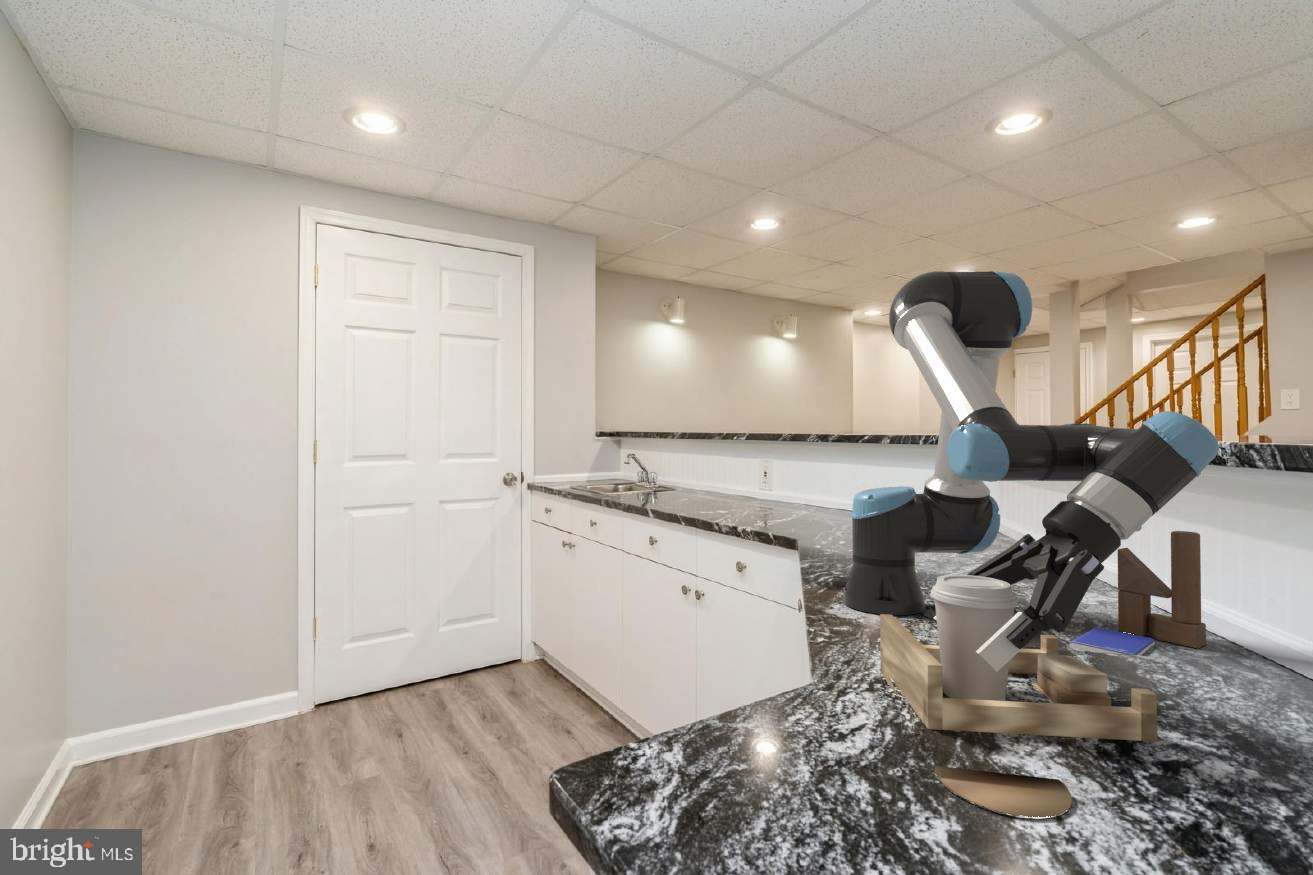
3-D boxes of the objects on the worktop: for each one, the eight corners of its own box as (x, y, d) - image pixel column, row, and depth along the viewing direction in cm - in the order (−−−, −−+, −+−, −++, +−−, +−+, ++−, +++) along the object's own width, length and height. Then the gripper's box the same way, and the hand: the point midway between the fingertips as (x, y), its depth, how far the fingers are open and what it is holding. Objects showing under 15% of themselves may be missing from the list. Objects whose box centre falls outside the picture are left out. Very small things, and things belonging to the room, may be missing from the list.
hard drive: (1133, 654, 90) (1154, 638, 97) (1069, 640, 96) (1094, 626, 104) (1133, 664, 89) (1154, 648, 97) (1069, 650, 96) (1094, 635, 104)
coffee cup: (928, 712, 72) (927, 584, 72) (933, 684, 80) (932, 570, 80) (1022, 730, 67) (1021, 594, 67) (1017, 698, 76) (1016, 578, 76)
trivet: (909, 770, 59) (909, 766, 59) (980, 744, 64) (980, 740, 64) (1024, 834, 49) (1024, 829, 49) (1097, 797, 54) (1097, 793, 54)
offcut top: (1071, 691, 70) (1071, 673, 70) (1037, 670, 76) (1037, 654, 76) (1107, 692, 69) (1107, 675, 69) (1070, 671, 76) (1070, 655, 76)
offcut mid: (1060, 710, 69) (1060, 692, 69) (1037, 684, 77) (1037, 668, 77) (1111, 715, 68) (1111, 697, 68) (1082, 688, 76) (1082, 672, 76)
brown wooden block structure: (1126, 628, 106) (1126, 525, 106) (1206, 646, 97) (1205, 532, 97) (1117, 632, 104) (1116, 526, 104) (1197, 650, 95) (1196, 534, 95)
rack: (927, 740, 65) (927, 665, 65) (880, 671, 85) (880, 614, 85) (1157, 753, 62) (1156, 675, 62) (1052, 679, 82) (1052, 620, 82)
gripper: (1199, 562, 60) (1038, 709, 61) (1059, 529, 84) (946, 634, 86) (1140, 507, 60) (982, 653, 62) (1018, 490, 85) (907, 595, 86)
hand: (961, 642), depth 74 cm, fingers open, 13 cm apart
